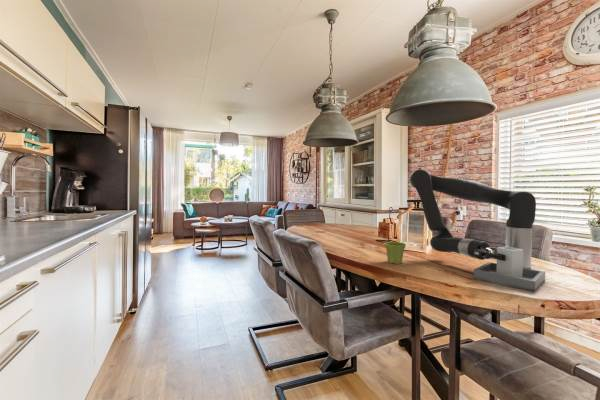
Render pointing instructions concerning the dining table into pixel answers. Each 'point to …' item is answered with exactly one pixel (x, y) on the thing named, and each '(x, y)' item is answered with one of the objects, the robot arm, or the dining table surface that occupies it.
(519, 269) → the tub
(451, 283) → the dining table surface
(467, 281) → the dining table surface
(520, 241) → the robot arm
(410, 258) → the dining table surface
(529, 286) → the tray
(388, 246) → the plant pot
